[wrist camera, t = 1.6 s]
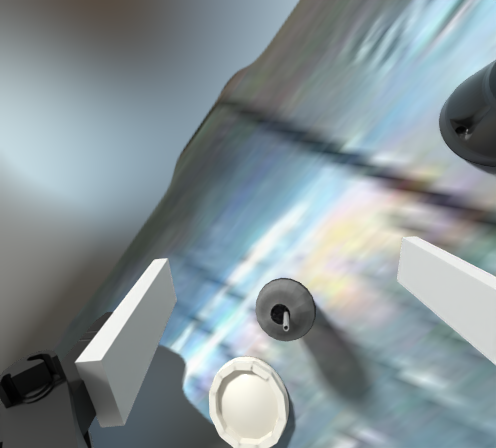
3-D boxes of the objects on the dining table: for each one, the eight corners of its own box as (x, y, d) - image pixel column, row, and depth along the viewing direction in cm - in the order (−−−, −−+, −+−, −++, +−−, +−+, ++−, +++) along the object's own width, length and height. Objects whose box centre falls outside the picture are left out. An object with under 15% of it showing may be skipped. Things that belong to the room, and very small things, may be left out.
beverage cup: (276, 270, 41) (243, 273, 22) (319, 281, 39) (322, 293, 20) (268, 313, 40) (225, 353, 21) (311, 326, 38) (307, 383, 19)
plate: (302, 385, 37) (301, 391, 35) (268, 465, 36) (265, 476, 34) (231, 340, 41) (227, 344, 39) (200, 411, 41) (194, 418, 39)
